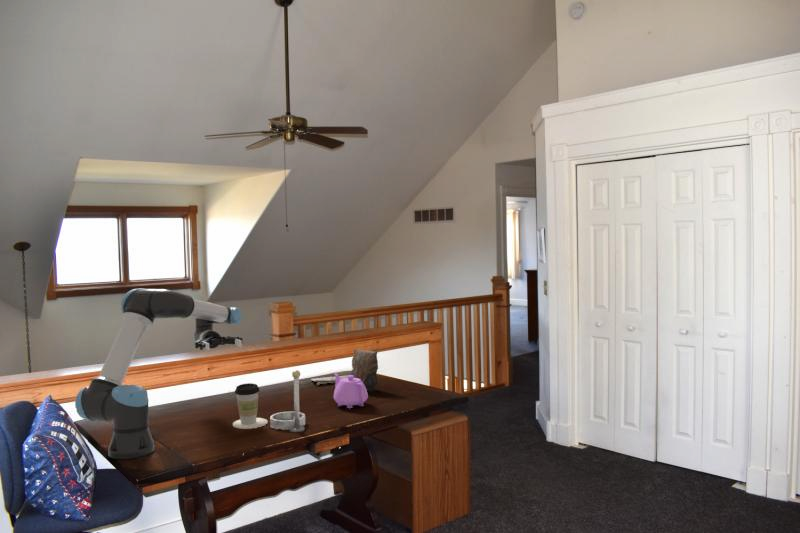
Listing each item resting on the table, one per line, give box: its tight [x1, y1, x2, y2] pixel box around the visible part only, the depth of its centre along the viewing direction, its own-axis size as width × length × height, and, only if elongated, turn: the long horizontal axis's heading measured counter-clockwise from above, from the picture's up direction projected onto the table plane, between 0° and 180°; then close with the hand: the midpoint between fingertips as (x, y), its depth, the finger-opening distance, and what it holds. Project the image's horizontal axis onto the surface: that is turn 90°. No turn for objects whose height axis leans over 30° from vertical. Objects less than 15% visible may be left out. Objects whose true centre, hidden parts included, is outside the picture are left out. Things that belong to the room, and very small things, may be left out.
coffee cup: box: [234, 382, 260, 425], centre depth 253 cm, size 10×10×15 cm
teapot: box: [333, 372, 369, 410], centre depth 282 cm, size 22×16×14 cm
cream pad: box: [232, 417, 269, 430], centre depth 254 cm, size 14×14×1 cm
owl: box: [350, 349, 379, 392], centre depth 311 cm, size 13×13×20 cm
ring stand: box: [269, 369, 306, 434], centre depth 249 cm, size 19×14×24 cm
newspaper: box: [310, 374, 349, 386], centre depth 332 cm, size 35×12×4 cm, turn 117°
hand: (224, 345), depth 257 cm, fingers open, 13 cm apart
